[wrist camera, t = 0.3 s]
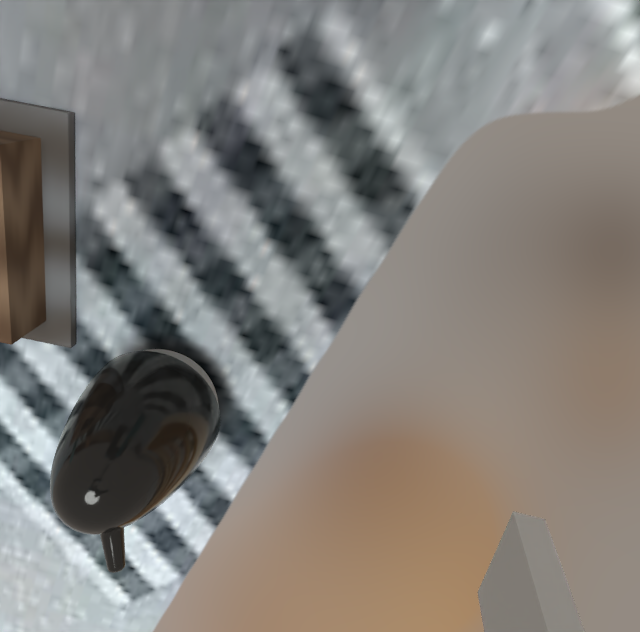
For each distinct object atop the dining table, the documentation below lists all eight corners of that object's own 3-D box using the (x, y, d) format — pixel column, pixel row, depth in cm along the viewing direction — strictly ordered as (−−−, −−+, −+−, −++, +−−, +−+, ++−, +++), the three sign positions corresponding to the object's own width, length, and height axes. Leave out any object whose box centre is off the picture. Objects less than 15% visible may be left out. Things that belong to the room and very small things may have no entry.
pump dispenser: (136, 446, 49) (34, 591, 35) (95, 339, 45) (-36, 454, 31) (246, 434, 47) (186, 582, 33) (214, 322, 43) (130, 435, 29)
